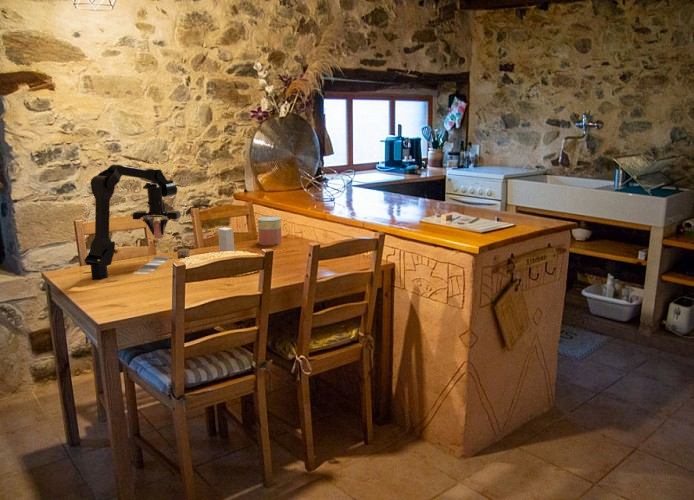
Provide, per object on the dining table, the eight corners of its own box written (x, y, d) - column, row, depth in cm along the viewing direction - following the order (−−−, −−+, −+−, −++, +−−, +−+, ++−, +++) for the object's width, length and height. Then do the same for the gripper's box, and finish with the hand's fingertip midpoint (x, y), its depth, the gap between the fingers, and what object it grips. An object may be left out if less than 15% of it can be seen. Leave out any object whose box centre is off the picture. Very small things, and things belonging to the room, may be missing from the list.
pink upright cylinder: (161, 238, 243) (159, 221, 241) (153, 238, 243) (151, 221, 241) (163, 237, 246) (162, 220, 244) (156, 237, 246) (154, 220, 245)
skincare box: (235, 254, 258) (233, 228, 255) (227, 256, 255) (225, 230, 252) (227, 252, 262) (225, 227, 259) (219, 254, 259) (217, 228, 256)
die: (187, 259, 250) (186, 250, 249) (177, 259, 250) (177, 250, 249) (190, 257, 254) (189, 248, 253) (180, 257, 254) (180, 248, 253)
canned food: (261, 239, 287) (260, 216, 285) (284, 240, 286) (283, 216, 283) (256, 245, 277) (255, 220, 274) (279, 245, 275) (278, 220, 273)
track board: (150, 276, 225) (150, 274, 224) (131, 276, 225) (130, 274, 224) (172, 259, 251) (172, 256, 250) (154, 259, 251) (154, 256, 251)
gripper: (183, 195, 248) (185, 231, 252) (140, 195, 249) (143, 231, 252) (175, 199, 237) (177, 236, 241) (130, 199, 238) (133, 236, 241)
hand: (158, 234), depth 244 cm, fingers closed on pink upright cylinder, 3 cm apart
